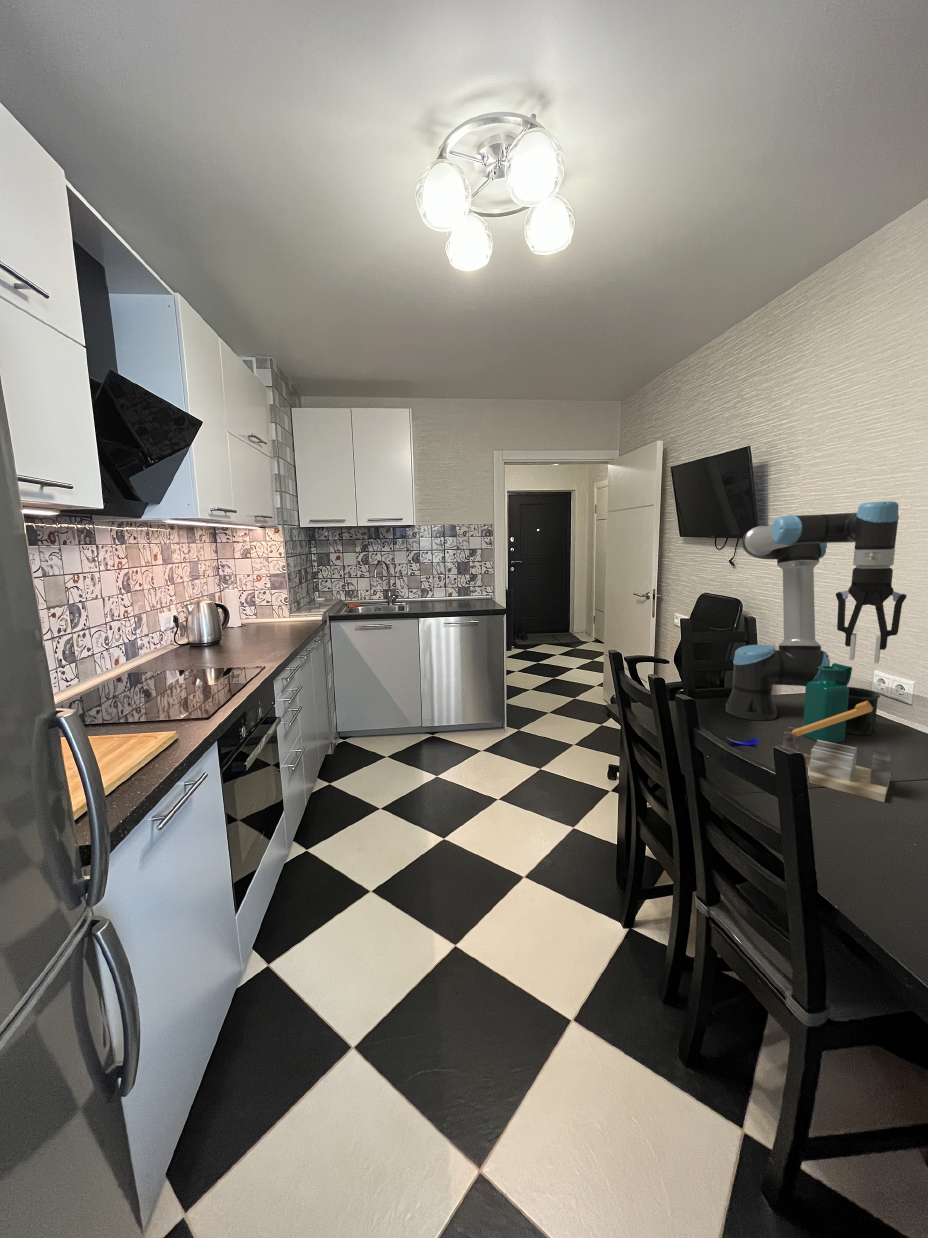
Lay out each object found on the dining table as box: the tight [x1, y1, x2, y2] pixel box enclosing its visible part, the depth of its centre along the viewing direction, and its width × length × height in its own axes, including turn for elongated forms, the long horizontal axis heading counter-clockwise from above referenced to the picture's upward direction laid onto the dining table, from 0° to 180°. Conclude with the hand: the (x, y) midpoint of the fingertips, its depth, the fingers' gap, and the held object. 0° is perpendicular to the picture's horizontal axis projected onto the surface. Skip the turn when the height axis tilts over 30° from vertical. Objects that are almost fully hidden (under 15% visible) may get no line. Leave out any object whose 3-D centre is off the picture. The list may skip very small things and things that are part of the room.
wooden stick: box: [791, 701, 873, 737], centre depth 120 cm, size 18×3×2 cm
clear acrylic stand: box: [782, 726, 892, 803], centre depth 121 cm, size 21×13×10 cm, turn 45°
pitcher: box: [802, 662, 853, 744], centre depth 143 cm, size 10×8×22 cm
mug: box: [845, 686, 881, 736], centre depth 151 cm, size 11×15×12 cm
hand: (864, 660), depth 121 cm, fingers open, 4 cm apart
